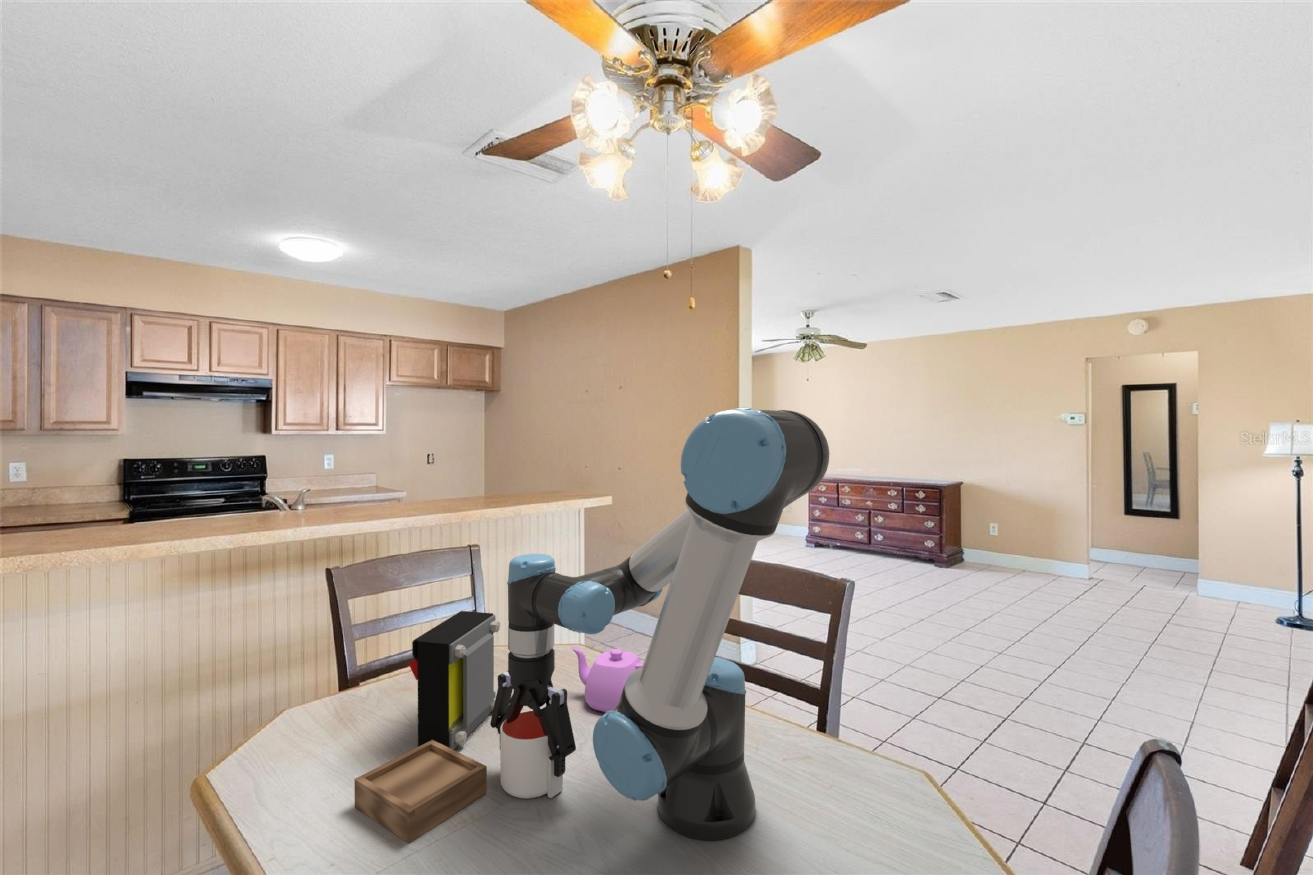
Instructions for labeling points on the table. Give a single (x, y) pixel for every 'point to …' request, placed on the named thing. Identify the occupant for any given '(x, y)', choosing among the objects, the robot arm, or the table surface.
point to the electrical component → (454, 677)
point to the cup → (524, 757)
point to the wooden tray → (420, 789)
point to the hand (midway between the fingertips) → (531, 781)
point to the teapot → (606, 677)
